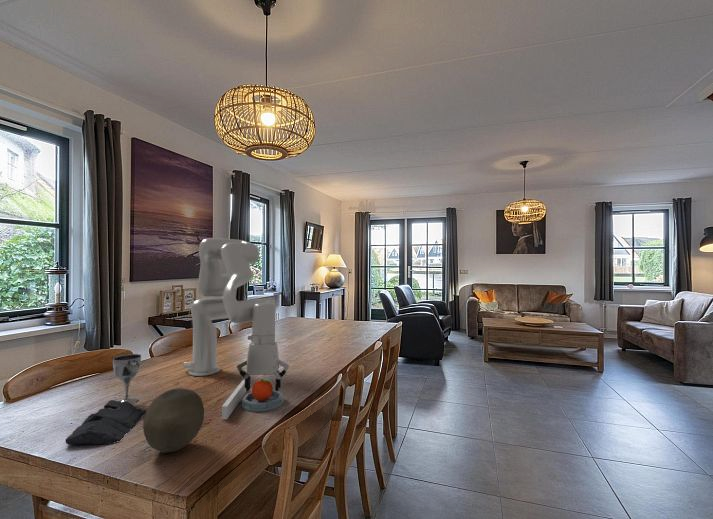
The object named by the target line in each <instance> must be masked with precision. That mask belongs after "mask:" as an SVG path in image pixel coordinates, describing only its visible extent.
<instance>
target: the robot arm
mask: <svg viewBox="0 0 713 519" xmlns="http://www.w3.org/2000/svg"><path fill="white" fill-rule="evenodd" d="M198 255H199V260H200V261H199V263H200V265H199V266H200V269H199V275H198V284H197V292H198V294H199V295H200V296H202V297H203V298H199V299H196V300H194V301H193V302H192V303H191V307H190V313H191V320H192V361H184V362H183V363H182V366H183V368H189V369H188V371H187V372H188V375H190V376H195V377H204V376H212V375H214V374H217V373H219V372H220V371H221V367H220V366H219V365H218V364H217V356H218V355H217V354H218V353H217V352H218V351H217V348H218V344H217V343H218V341H217V340H218V338H217V337H218V329H217V327H216V326H215V324H214V323H213V322H212V321H214V320H221V319H222V320H223V319H229V321H230V322H232V323H234V324H243V323H249V322H250V323H251V322H252V324H251V325H252V327H251V330H252V331H251V332H252V333H251V335H247V341H249V340H250V342H251V343H249V345H248V350H247V357H246V360H244V361H243V362H241V363H239V364H237V366H236V369H237V371H238V372H239V374H240V376H241V377H242V378H243V380H245V388H246V393H247V392H248V393H249V391H250V390H251V388H252V387H251V385H252V384H251V383H252V382H251V381H252V380H251V375H252V376H257V375H259V376H260V375H261V376H265V375H266V376H269V375H270V376H272V375H274V376H275V377H276V378H275V389H274V390H275V391H279V389H281V388H282V387H281V385H282V378H283V376H284V375H286V373H287V371H288V370H289V368H290V364H288V363H286V362H285V361H283V360H281V359H280V358H279V349H278V348H279V347H278V343H277V342H276V310H277V309H276V304H275V303H274V302H270V301H269V302H268V301H266V300H264V299H248V300H247V299H245V300H238V299H237V298H236V295H237V290H238V288H239V287H242V286H244V285H245V284H247V283H249V282H250V280H251V279H253V272H252V269H251V266H250V265H255V264H256V263H258V261H259V258H260V251H259V249H258V247H257V245H255V244H254V243H252V242H249V241H246V240H243V239H233V238H220V237H209V238H205V239H202V241H200V243H199V245H198ZM221 260H222V261H221ZM222 262H223V264H222ZM223 266H224V268H225V271H226V273H224V274H223V273H222V272H223ZM204 297H205V298H204ZM206 297H207V298H206ZM245 366H246V370H244V368H243V367H245ZM279 367H283V369H282V371H280V370H279Z"/></svg>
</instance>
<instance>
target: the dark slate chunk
mask: <svg viewBox="0 0 713 519" xmlns="http://www.w3.org/2000/svg"><path fill="white" fill-rule="evenodd" d="M146 412H147V411H146V409H142V408H137V407H135V406H134V405H133V404H131V403H128V402H119V401H118V400H116V399H115V400H114V399H112V400H111V399H110V400H108V402H107V403H105V404H104V405H103V408H100V409H99V410H97V412H95V413H91V414H90V415H88V416H87V418H85V420H84V421H83V422H82V423H81V425H80V426H78V427H76V428H75V430H74V431H72V433H71V434H70V435H69V436H67V438H65V444H66V445H69V446H71V445H72V446H73V445H86V444H91V445H110V444H109V443H111V444H115V443H114V442H116V443H118V442H117V441H120V440H121V439H122V438H123V437H124V435H125V434H126V433H128V432H129V431H130V429H132V428H133V427H134V428H135V426H136V425H137V424H138V423H139V422H140V420H141V419H142V418H143V417H144V416H145V415H146ZM144 414H145V415H144ZM143 415H144V416H143ZM142 416H143V417H142ZM141 417H142V418H141ZM138 421H139V422H138ZM137 422H138V423H137ZM136 423H137V424H136ZM135 424H136V425H135ZM134 428H133V429H134ZM133 429H132V430H133ZM130 432H131V431H130ZM130 432H129V433H130ZM129 433H128V434H129ZM122 440H123V439H122ZM120 442H121V441H120Z"/></svg>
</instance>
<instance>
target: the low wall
mask: <svg viewBox="0 0 713 519" xmlns="http://www.w3.org/2000/svg"><path fill="white" fill-rule="evenodd" d="M245 394H247V392H246V388H245V379H242V380H241V382H240V383H239V384H238V386H237V387H236V388H235V389H234V391H233V392H231V394H230V396H229V397H228V398H227V399H226V401H225V402H224V403H223V405H222V406H221V420H223V421H224V420H226V421H227V420H228V419H229V418H230V415H231V414H232V413H233V411H234V410H235V409H236V407H237V406H238V404H239V402H241V401H242V399H243V397H244V396H245Z"/></svg>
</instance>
